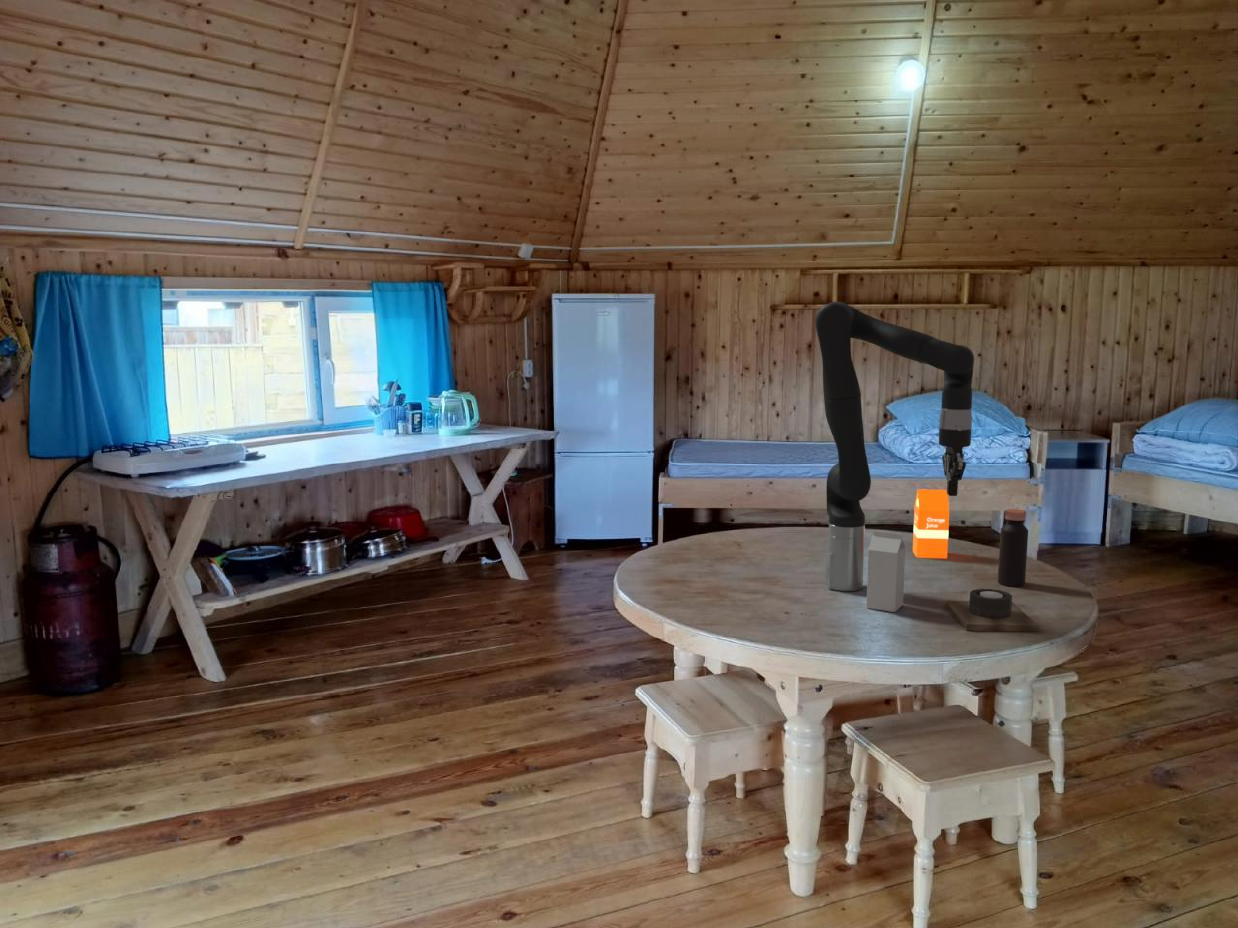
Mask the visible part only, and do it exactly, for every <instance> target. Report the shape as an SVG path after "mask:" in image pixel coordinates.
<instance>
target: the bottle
mask: <svg viewBox="0 0 1238 928" xmlns="http://www.w3.org/2000/svg"><path fill="white" fill-rule="evenodd" d="M1026 513H1027V512H1026V510H1023V509H1018V508H1015V509H1014V508H1009V509H1005V521H1006V522H1005V524H1004V525H1002V527H1000V534H999V535H1000V536H999V537H1000V538H999V555H998V568H997V569H998V572H997V583H998V584H1000V585H1002V586H1006V587H1012V588H1013V587H1015V588H1020V587H1023V586H1025V584H1026V573H1027V559H1028V544H1029V529H1028V528H1027V526H1025V525H1024V523H1025V522H1026Z"/></svg>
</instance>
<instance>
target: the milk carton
mask: <svg viewBox="0 0 1238 928" xmlns="http://www.w3.org/2000/svg"><path fill="white" fill-rule="evenodd" d="M872 533H873V534H872V538H871V540H870V544H869V546H868V549H867V551H868V554H867V556H868V557H867V580H866V582H867V583H866V608H867V609H870V610H871V609H872V610H877V611H885V612H890V613H895V612H897V611H898V610H899V609H900V608H901V607H902V606H903V605H904V592H905V591H904V590H905V589H904V588H905V585H904V583H905V568H906V567H905V565H906V564H905V563H906V562H905V561H906V545H905V542H904V539H903V533H897V532H896V533H895V532H889V531H879V530H873V531H872Z"/></svg>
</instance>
